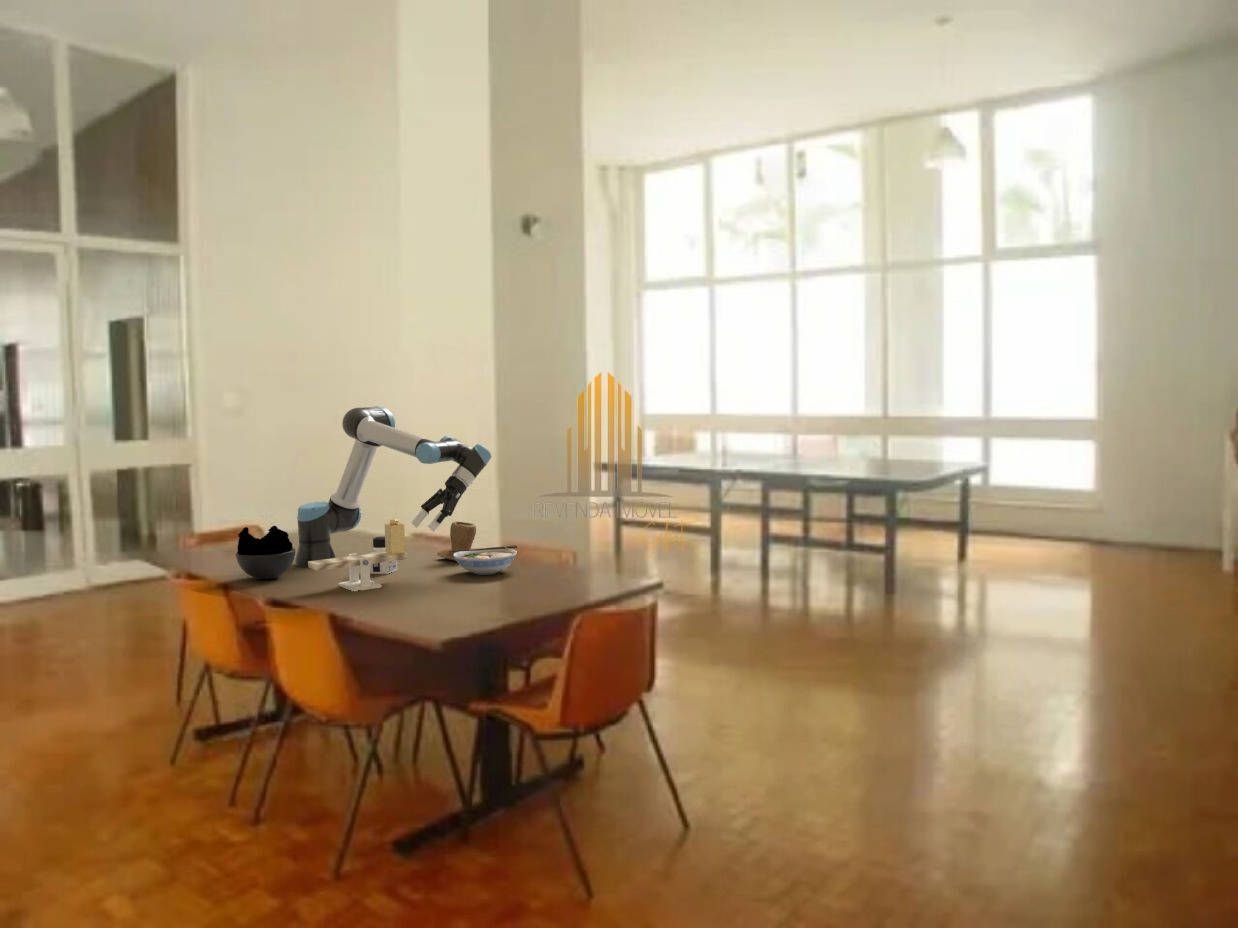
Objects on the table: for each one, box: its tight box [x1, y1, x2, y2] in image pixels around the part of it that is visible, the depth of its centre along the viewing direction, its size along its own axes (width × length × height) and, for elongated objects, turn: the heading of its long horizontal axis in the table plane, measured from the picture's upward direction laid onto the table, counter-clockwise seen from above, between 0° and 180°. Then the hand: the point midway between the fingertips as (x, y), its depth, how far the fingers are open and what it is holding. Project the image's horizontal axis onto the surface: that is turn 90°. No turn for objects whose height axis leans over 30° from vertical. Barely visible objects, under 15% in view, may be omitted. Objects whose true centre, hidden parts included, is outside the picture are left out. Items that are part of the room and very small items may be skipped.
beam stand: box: [338, 553, 382, 592], centre depth 338 cm, size 10×13×10 cm
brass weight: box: [384, 518, 406, 555], centre depth 345 cm, size 5×5×12 cm
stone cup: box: [436, 520, 477, 562], centre depth 386 cm, size 15×12×15 cm
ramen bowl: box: [449, 544, 518, 576], centre depth 357 cm, size 25×23×8 cm
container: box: [367, 535, 398, 575], centre depth 364 cm, size 8×8×13 cm
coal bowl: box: [235, 525, 296, 580], centre depth 354 cm, size 20×20×19 cm
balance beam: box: [307, 552, 409, 572], centre depth 337 cm, size 32×8×2 cm, turn 126°
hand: (422, 527), depth 351 cm, fingers open, 13 cm apart
